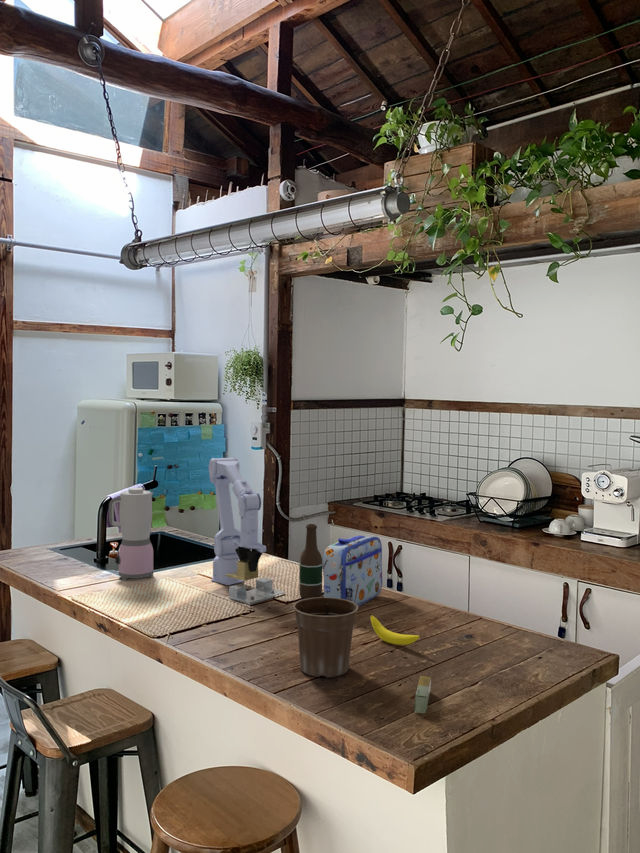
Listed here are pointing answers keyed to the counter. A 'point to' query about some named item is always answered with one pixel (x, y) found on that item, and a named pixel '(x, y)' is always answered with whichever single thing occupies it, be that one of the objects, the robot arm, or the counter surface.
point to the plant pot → (325, 635)
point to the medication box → (422, 694)
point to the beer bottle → (310, 566)
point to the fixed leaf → (254, 592)
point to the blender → (134, 533)
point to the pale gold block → (243, 571)
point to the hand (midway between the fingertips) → (248, 570)
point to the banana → (391, 634)
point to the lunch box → (353, 569)
